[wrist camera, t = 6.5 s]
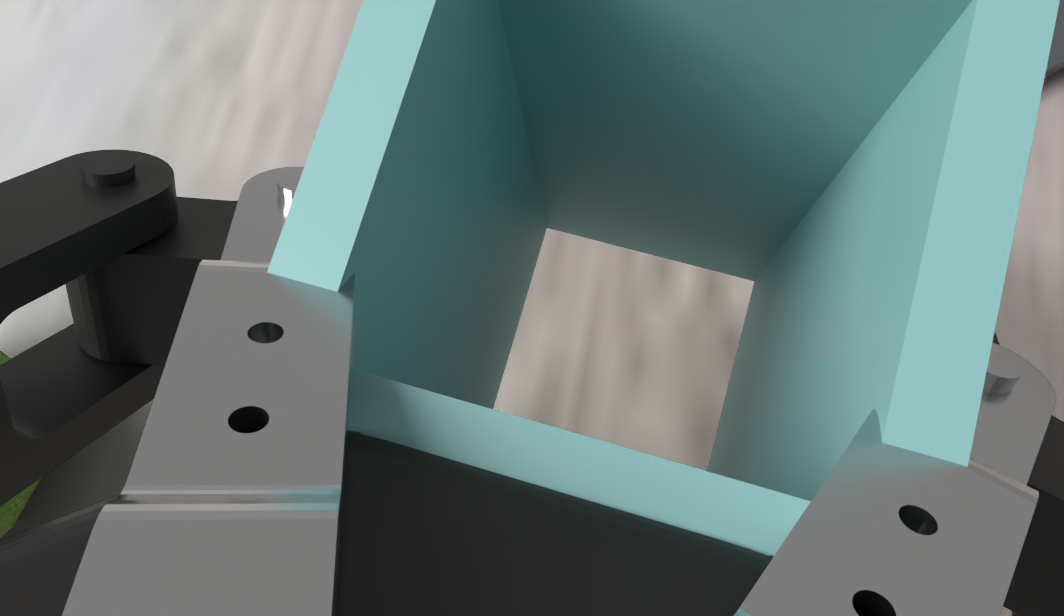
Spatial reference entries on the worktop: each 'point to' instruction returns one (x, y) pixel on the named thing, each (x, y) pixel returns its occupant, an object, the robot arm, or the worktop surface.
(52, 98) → the worktop surface
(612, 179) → the teal open-top bin
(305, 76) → the worktop surface
